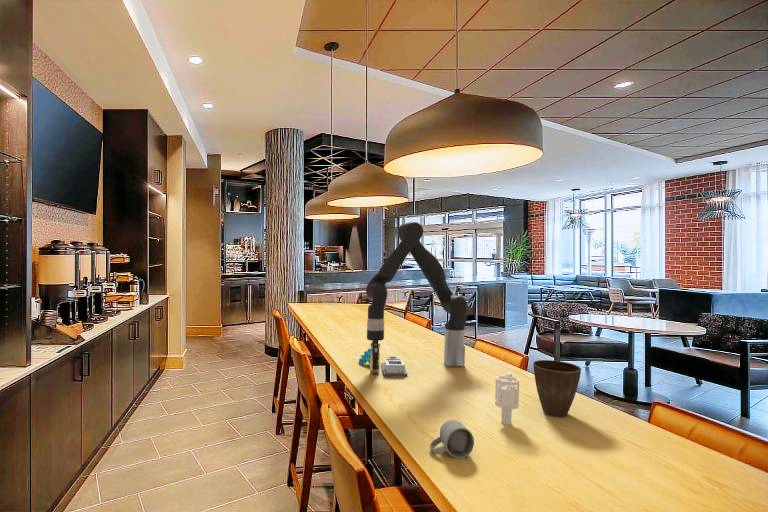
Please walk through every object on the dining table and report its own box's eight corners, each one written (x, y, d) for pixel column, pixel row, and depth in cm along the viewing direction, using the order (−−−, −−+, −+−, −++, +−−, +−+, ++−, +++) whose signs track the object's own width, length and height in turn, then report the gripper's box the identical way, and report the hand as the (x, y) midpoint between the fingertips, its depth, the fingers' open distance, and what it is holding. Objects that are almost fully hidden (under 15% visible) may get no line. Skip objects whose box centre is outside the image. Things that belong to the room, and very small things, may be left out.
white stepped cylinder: (520, 421, 131) (521, 374, 131) (515, 429, 125) (516, 379, 125) (498, 416, 135) (499, 370, 135) (491, 423, 129) (493, 375, 129)
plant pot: (575, 408, 144) (576, 362, 144) (584, 424, 130) (585, 373, 130) (530, 402, 148) (531, 358, 149) (533, 418, 134) (535, 369, 134)
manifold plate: (402, 365, 195) (402, 355, 195) (407, 376, 177) (407, 365, 177) (381, 365, 194) (381, 355, 194) (384, 376, 176) (384, 365, 176)
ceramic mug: (463, 443, 114) (463, 415, 114) (474, 457, 106) (474, 427, 106) (426, 446, 113) (426, 417, 113) (434, 460, 105) (435, 430, 105)
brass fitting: (378, 371, 182) (379, 353, 182) (379, 373, 178) (379, 355, 178) (369, 371, 182) (370, 352, 182) (370, 373, 178) (370, 355, 178)
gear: (356, 357, 200) (371, 343, 201) (364, 365, 202) (379, 351, 202) (359, 367, 190) (375, 351, 190) (368, 375, 191) (383, 360, 192)
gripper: (385, 331, 173) (384, 372, 173) (383, 325, 187) (382, 363, 187) (367, 331, 173) (366, 372, 173) (366, 325, 187) (365, 363, 187)
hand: (374, 367), depth 180 cm, fingers closed on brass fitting, 4 cm apart
